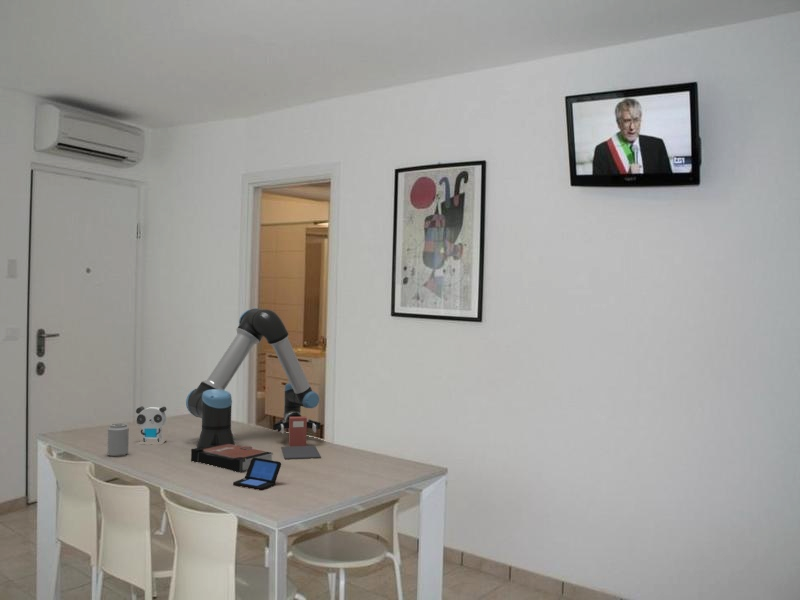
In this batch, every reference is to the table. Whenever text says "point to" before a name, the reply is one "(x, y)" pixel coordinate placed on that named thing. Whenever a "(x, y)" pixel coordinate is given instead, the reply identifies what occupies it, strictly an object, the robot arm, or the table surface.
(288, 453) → the mat
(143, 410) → the panda figurine
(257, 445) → the table surface
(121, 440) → the can
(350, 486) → the table surface
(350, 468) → the table surface
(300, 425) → the box
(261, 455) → the book
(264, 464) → the handheld game console
